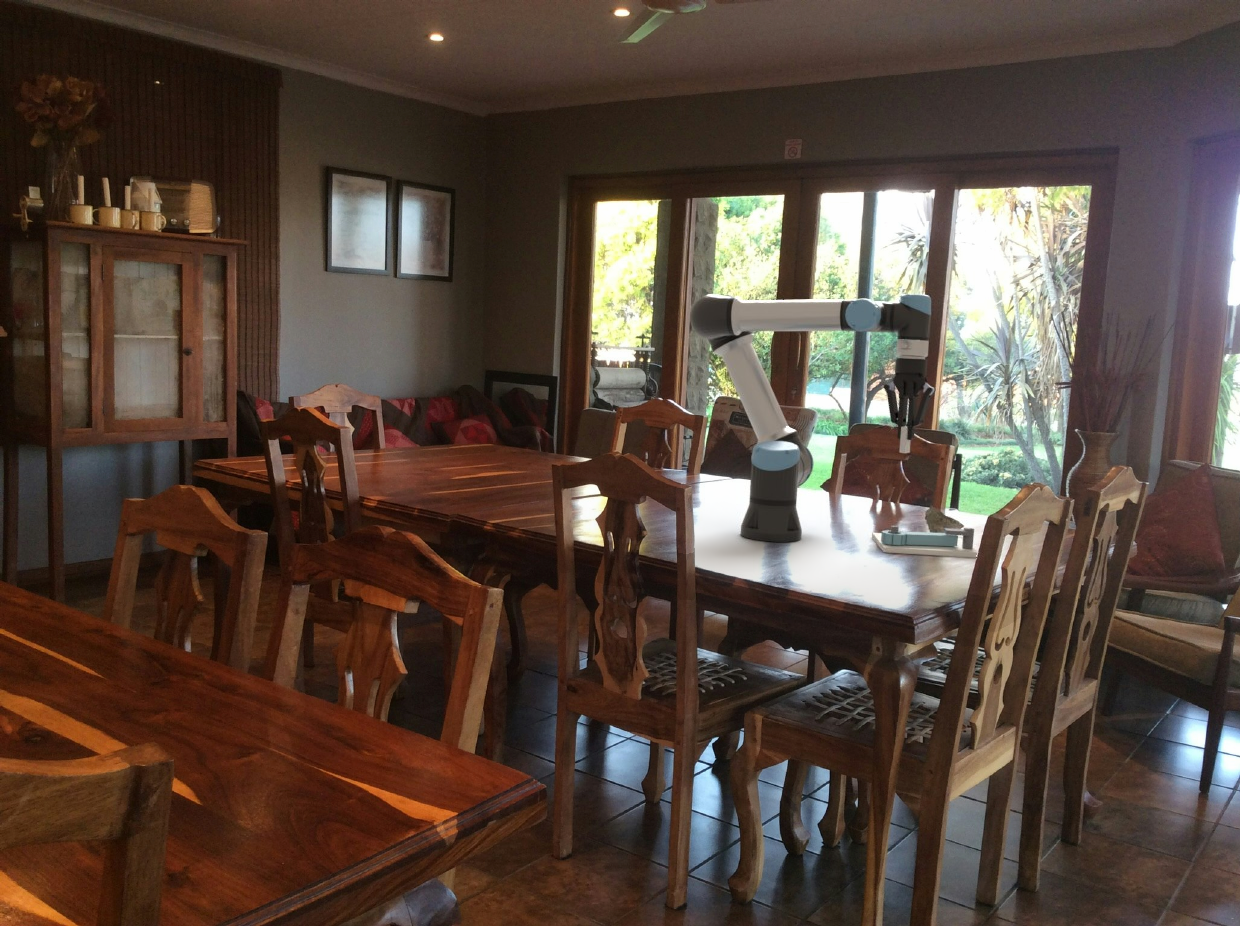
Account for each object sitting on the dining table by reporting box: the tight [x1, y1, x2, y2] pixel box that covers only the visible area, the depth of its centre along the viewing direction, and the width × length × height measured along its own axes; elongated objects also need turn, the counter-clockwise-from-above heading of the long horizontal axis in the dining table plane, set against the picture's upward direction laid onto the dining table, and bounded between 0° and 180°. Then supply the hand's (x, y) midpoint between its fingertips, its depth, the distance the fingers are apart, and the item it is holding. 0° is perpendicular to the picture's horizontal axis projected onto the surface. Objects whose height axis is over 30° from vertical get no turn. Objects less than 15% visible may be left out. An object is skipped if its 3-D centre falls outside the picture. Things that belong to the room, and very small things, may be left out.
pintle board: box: [871, 525, 979, 559], centre depth 262 cm, size 22×19×6 cm
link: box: [881, 529, 959, 546], centre depth 259 cm, size 18×6×2 cm, turn 92°
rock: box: [924, 504, 965, 533], centre depth 278 cm, size 11×6×10 cm
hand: (904, 452), depth 267 cm, fingers closed
